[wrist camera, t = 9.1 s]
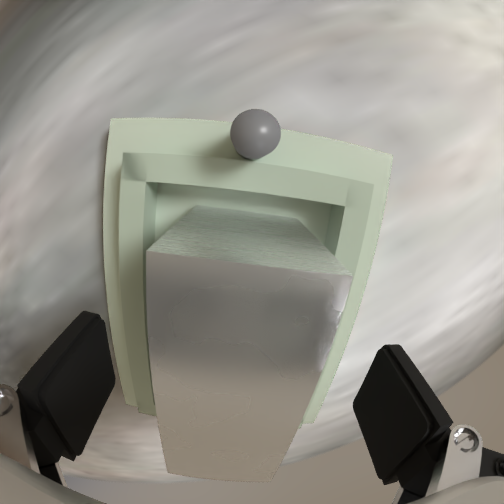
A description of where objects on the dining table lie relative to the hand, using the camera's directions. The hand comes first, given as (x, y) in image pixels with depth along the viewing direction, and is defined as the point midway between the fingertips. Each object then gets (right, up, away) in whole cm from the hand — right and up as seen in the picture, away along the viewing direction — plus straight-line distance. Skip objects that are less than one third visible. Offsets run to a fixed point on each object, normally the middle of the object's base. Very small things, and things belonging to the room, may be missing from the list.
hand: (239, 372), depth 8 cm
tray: (-1, +1, +5) cm, 5 cm away
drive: (0, +1, +4) cm, 4 cm away
